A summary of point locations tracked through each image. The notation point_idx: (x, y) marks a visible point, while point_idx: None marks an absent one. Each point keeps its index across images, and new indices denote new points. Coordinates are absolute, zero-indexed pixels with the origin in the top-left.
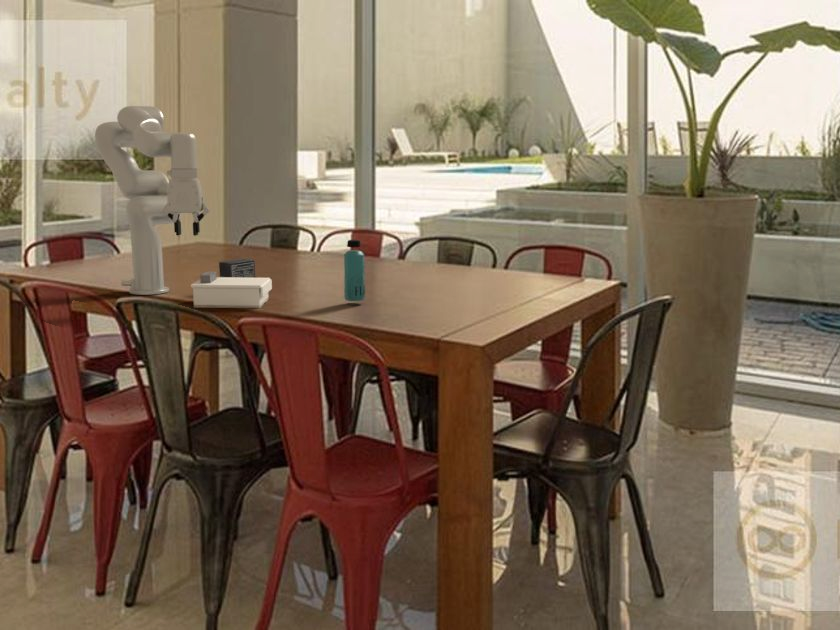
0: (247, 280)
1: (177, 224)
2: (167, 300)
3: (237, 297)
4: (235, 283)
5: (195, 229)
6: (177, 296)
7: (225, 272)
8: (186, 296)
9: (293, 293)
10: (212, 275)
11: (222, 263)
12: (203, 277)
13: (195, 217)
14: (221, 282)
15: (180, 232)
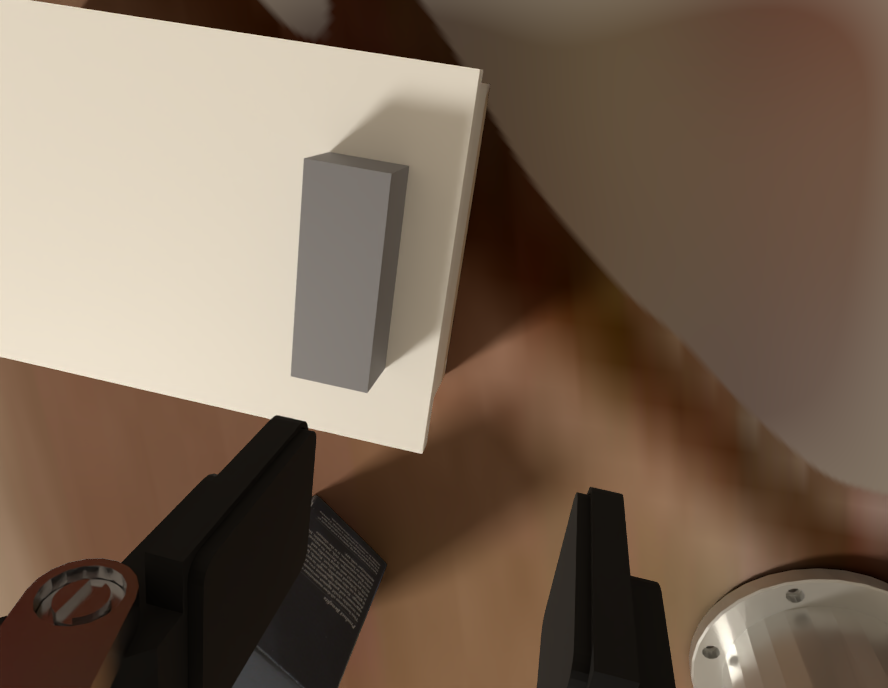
0: (84, 249)
1: (589, 637)
2: (688, 375)
3: None
4: (133, 109)
5: (230, 482)
6: (628, 496)
7: (304, 613)
8: (572, 486)
9: (15, 461)
10: (304, 243)
11: (302, 679)
12: (368, 164)
13: (39, 664)
14: (248, 175)
15: (550, 611)
